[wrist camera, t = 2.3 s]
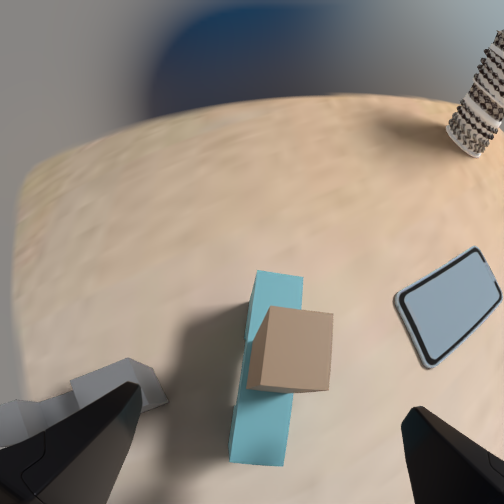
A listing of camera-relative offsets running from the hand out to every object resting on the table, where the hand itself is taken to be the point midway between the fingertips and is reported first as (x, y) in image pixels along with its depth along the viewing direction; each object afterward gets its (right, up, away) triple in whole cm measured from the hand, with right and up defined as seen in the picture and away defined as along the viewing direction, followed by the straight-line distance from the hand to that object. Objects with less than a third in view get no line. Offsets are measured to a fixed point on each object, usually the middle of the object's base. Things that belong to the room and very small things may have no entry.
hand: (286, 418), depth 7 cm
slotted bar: (-12, -6, +7) cm, 15 cm away
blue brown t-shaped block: (-1, -3, +10) cm, 10 cm away
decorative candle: (+37, +25, +29) cm, 53 cm away
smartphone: (+18, 0, +14) cm, 23 cm away
